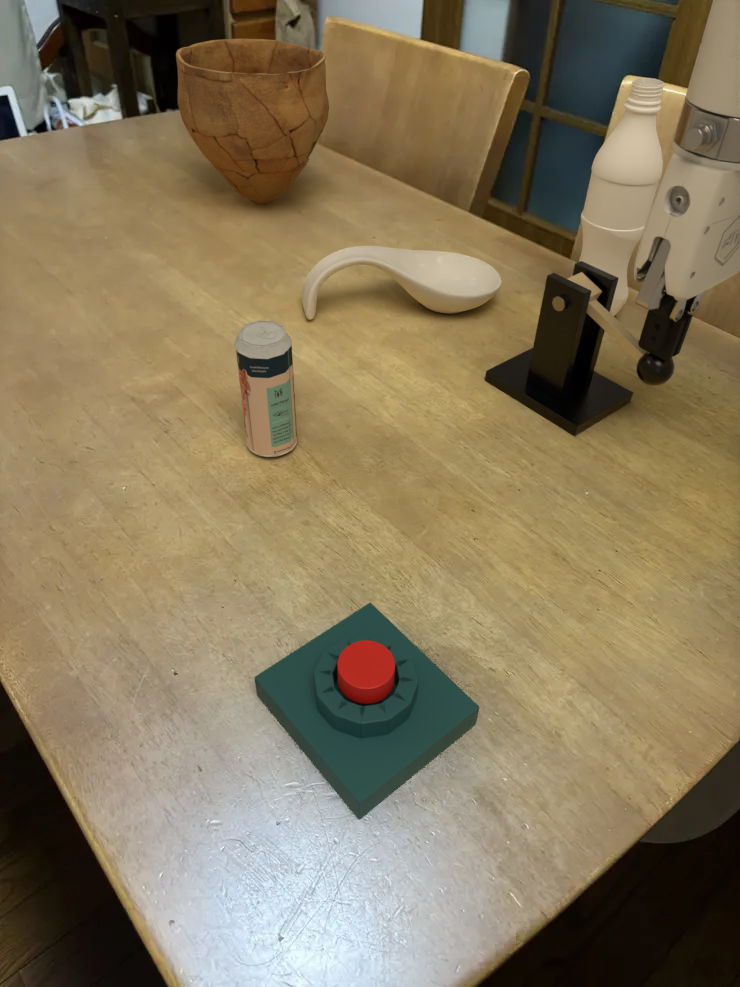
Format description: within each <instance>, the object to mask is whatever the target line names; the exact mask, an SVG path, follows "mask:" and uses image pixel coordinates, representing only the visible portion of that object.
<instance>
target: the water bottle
mask: <svg viewBox="0 0 740 987" xmlns="http://www.w3.org/2000/svg"><path fill="white" fill-rule="evenodd" d="M664 87H665V82H664V81H663V80H661V79H657V78H653V77H636V78H634V79H632V82H631V86H630V90H629V95H628V96H627V97H626V101H625V102H624V103H623V108H624V112H623V115H622V117H621V118H620V121H619V122H618V124H617V125H616V127H615V129H614V130H613V131H612V132H611V133H610V134H609V135H608V137H606V140H605V141H604V142H603V144H602V145H601V147H600V148H599V149H598V151H597V152H596V154H595V157H594V159H593V162H592V165H591V167H590V168H591V170H590V171H591V174H590V177H589V178H590V179H589V183H588V187H587V190H586V196H585V201H584V206H583V210H582V211H581V213H580V222H581V227H582V246H581V252H580V256H579V260H578V262H580V261H583V262H585V263H587V264H589V265H591V266H594V267H596V268H598V269H600V270H602V271H605V272H607V273H609V274H611V275H613V276H616V277H618V278H619V279H618V283H617V286H616V290H615V294H614V298H613V302H612V305H611V309H610V313H611V314H612V315H613V316H614V317H615V316H616V315H617V314H619V312H620V311H621V310H622V309H623V307H624V306H625V305H626V302H627V300H628V297H629V293H630V292H629V286H628V269H629V262H630V259H631V257H632V254H633V253H634V250H635V248H636V247H637V245H638V243H640V242H639V241H641V238H642V234H643V231H644V228H645V225H646V222H647V219H648V216H649V213H650V211H651V208H652V205H653V202H654V199H655V197H656V194H657V190H658V187H659V182H660V180H662V179H661V178H662V177H663V176H662V175H663V170H664V162H663V160H664V159H663V153H662V149H661V143H660V139H659V134H658V130H657V116H658V113H660V111H661V109H662V106H661V105H660V104H662V99H661V97H662V94H663V90H664ZM570 277H572V275H571V276H570Z"/></svg>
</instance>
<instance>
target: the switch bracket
mask: <svg viewBox="0 0 740 987" xmlns="http://www.w3.org/2000/svg"><path fill="white" fill-rule="evenodd" d="M581 272H582V273H583V274H584V275H586V276H587V277H588V278H589V279H590V280H591V281H592V282H593V283H594V284H595V285H596V286H597V287H598V288H599V289H600V290H601V291H602V293H601V294H600V296H599V297H598V299H597V301H598V302H599V303H600V304H601V305H602V306H603V307H604V308H605V309H606V310H607V311H608V312H610V309H611V305H612V302H613V298H614V294H615V290H616V286H617V283H618V279H619V278H618V277H616V276H613V275H611V274H609V273H607V272H605V271H602V270H600V269H598V268H596V267H594V266H591V265H589V264H587V263H585V262H583V261H580V262H579V261H578V262H575V263H574V266H573V270H572V274H571V276H574V275H576V274H579V273H581ZM590 296H591V290H589V289H587V288H585V287H583V286H581V285H579V284H576V283H574V282H572V281H570V280H568V279H567V278H566V277H564V276H562V275H560V274H558V273H556V272H552V273H550V274H548V275H546V280H545V285H544V289H543V294H542V299H541V304H540V311H539V315H538V319H537V326H536V331H535V335H534V341H533V346H532V347H531V348H529V349H527V350H524V351H523V352H521V353H519V354H517V355H514V356H513V357H511V358H509V359H507V360H505V361H503V362H501V363H499V364H497V365H495V366H493V367H490V368H489V369H487V370H485V376H484V381H485V382H486V383H488V384H490V385H492V386H493V387H495V388H496V389H498V390H499V391H501V392H503V393H504V394H506V395H508V396H509V397H511V398H513V399H514V400H516V401H517V402H519V403H521V404H522V405H523V406H525V407H527V408H529V409H530V410H531V411H532V412H535V413H537V414H538V415H540V416H541V417H543V418H545V419H546V420H548V421H549V422H551V423H553V424H554V425H556V426H557V427H559V428H561V429H563V430H564V431H565V432H568V433H569V434H570V435H572V436H573V437H577V435H579V434H580V433H582V432H584V431H585V430H587V429H589V428H591V427H592V426H594V425H596V424H598V422H600V421H602V420H603V419H605V418H607V417H609V416H611V415H613V413H616V412H617V411H618V410H620V409H622V408H623V407H625V406H626V405H628V404H630V403H631V402H632V399H633V396H634V392H633V390H632V391H631V390H630V389H629V388H626V387H624V386H623V385H620V384H618V383H617V382H615V381H614V380H612V379H610V378H608V377H607V376H605V375H602V374H600V373H599V372H597V371H595V369H596V365H597V362H598V358H599V354H600V351H601V347H602V343H603V339H604V334H605V332H606V331H605V330H604V329H603V328H602V327H601V326H600V325H599V324H598V323H597V322H595V321H594V320H593V319H592V318H591V317H590V316H589V315H588V314H587V313H586V312H587V308H588V304H589V300H590Z"/></svg>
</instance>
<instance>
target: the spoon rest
mask: <svg viewBox="0 0 740 987" xmlns="http://www.w3.org/2000/svg"><path fill="white" fill-rule="evenodd" d="M353 266H370V267H373V268H376V269H379V270H380V271H382V272H384V273H385V274H387V275H388V276H389V277H391V279H393V280H394V281H395V282H396V283H397V284H399V286H400V287H402V288H403V289H404V290H405V291H406V292H407V293H408V294H409V295H410V296H411V297H412V298H413V299H414V300H416V301H417V302H418V303H420V304H422V306H423V307H425V308H426V309H428V310H430V311H432V312H436V313H440V314H458V313H462V312H466V311H470V310H473V309H477V308H478V307H481V306H482V305H484V304H485V303H487V302H488V301H489V300H491V299H492V298H494V296H495V295H496V294H497V293H498V292H499V290H501V287H502V284H503V281H502V280H503V279H502V277H501V275H500V273H499V271H498V270H497V269H496V268H494V267H493V266H492V265H491V264H489V263H487V262H486V261H484V260H481V259H479V258H477V257H473V256H470V255H467V254H463V253H458V252H453V251H443V250H429V249H427V250H425V249H408V248H399V247H391V246H390V247H389V246H379V245H355V246H354V245H353V246H349V247H345V248H341V249H339V250H335V251H334V252H332V253H329V254H327V255H325V256H324V257H322V258H321V259H320V260H319V261H318V262H316V264H314V265H313V267H312V268H311V269H310V271H309V272H308V274H307V276H306V278H305V279H304V282H303V286H302V289H301V302H302V306H303V311H304V315H305V317H306V319H307V320H313V319H314V318H315V316H316V313H317V305H318V304H317V302H318V297H319V293H320V290H321V288H322V286H323V285H324V283H325V282H326V281H327V280H328V279H329V278H330V277H331V276H333V275H334V274H336V273H337V272H339V271H342V270H344V269H346V268H350V267H353Z"/></svg>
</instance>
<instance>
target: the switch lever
mask: <svg viewBox="0 0 740 987" xmlns="http://www.w3.org/2000/svg"><path fill="white" fill-rule="evenodd" d="M571 276H572V275H571ZM571 276H569V277H567V278H566V279H568V280H570V281H572V282H574V283H576V284H579V285H581V286H583V287H585V288H587V289H589V290H591V296H590V300H589V304H588V308H587V312H586V313H587V314H588V315H589V316H590V317H591V318H592V319H593V320H594V321H595V322H597V323H598V324H599V325H600V326H601V327H602V328H603V329H604V330H605V332H606V334H607V335H609V336H610V337H611V338H612V339H613V340H614V341H615V342H616V343H617V344H618V345H619V346H620V347H621V348H622V349H623V350H624V351H625V352H626V353H627V354H628V355H629V356H630V357H631V358H632V359H633V360H635V361H636V362H637V363H636V369H635V370H636V375H637V377H638V379H639V381H641V382H642V383H643V384H645V385H646V386H651V387H652V386H653V387H657V386H661V385H663V384H666V383H667V382H668V381H669V380H670V379H671V378H672V376H673V375H674V373H675V368H676V365H675V361H674V358H673V357H672V358H671V359H669V360H667V361H665V360H663V359H661V358H659V357H657V356H655V355H653V354H651V353H649V352H647V351H646V350H644V349H642V348H640V347H639V345H638V342H639V339H638V338H637V337H636V336H635V335H634V334H633V332H631V331H630V330H629V329H628V328H626V326H624V325H623V324H622V323H621V322H620V321H619V320H618V318H616V317H615V316H613V315H612V314H611V313H610V312H608V311H607V310H606V309H605V308H604V307H603V306H602V305H601V304H600V303H599V302H598V301H597V299H598V297H599V296H600V294H601V293H602V291H601V290H600V289H599V288H598V287H597V286H596V285H595V284H594V283H593V282H592V281H591V280H590V279H589V278H588V277H587V276H586V275H584V274H583V273H582V272H581V273H579V274H576V275H574V276H572V277H571Z"/></svg>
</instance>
